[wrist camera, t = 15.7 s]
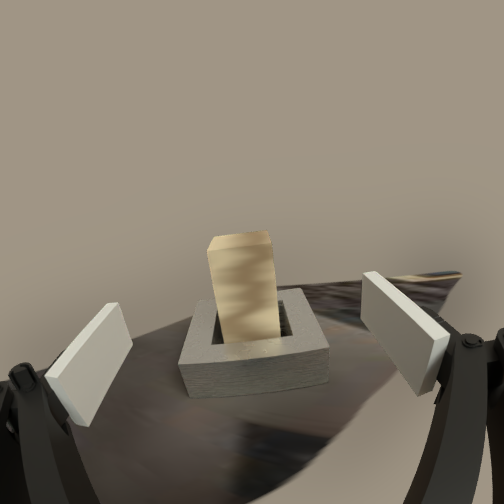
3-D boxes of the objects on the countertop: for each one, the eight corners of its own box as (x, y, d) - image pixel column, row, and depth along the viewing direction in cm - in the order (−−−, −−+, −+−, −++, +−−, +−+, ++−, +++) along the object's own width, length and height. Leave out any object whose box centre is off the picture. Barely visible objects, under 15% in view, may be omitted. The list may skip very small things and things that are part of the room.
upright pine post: (230, 372, 24) (206, 250, 21) (232, 343, 29) (214, 236, 26) (283, 366, 24) (271, 242, 21) (277, 338, 29) (266, 230, 26)
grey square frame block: (190, 398, 21) (177, 364, 20) (204, 329, 33) (198, 300, 32) (328, 382, 21) (329, 347, 20) (302, 317, 33) (300, 287, 32)
